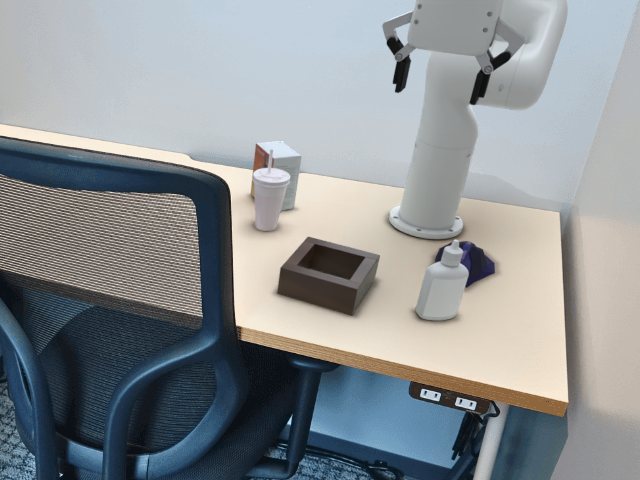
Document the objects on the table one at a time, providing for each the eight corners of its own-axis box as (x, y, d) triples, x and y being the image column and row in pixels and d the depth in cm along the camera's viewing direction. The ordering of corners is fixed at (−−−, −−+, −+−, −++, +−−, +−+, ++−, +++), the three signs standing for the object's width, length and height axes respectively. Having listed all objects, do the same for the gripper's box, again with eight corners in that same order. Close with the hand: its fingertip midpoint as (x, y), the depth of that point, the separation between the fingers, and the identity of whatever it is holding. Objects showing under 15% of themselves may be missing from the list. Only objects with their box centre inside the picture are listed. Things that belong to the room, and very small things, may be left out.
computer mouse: (501, 256, 115) (508, 235, 112) (485, 297, 104) (493, 274, 102) (443, 242, 118) (449, 221, 116) (422, 280, 108) (428, 258, 106)
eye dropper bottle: (454, 326, 98) (478, 252, 91) (413, 317, 99) (433, 243, 93) (456, 311, 101) (479, 237, 94) (416, 302, 103) (436, 230, 96)
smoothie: (260, 214, 126) (268, 140, 118) (290, 225, 123) (301, 149, 115) (240, 227, 122) (247, 150, 114) (271, 238, 119) (281, 160, 111)
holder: (304, 260, 113) (307, 236, 110) (374, 280, 108) (380, 254, 105) (276, 293, 104) (280, 267, 102) (352, 315, 100) (357, 289, 97)
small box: (249, 195, 133) (254, 142, 127) (276, 192, 135) (282, 139, 129) (267, 212, 127) (273, 158, 121) (294, 209, 129) (302, 154, 123)
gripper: (552, -46, 82) (509, 99, 92) (405, -56, 89) (379, 79, 99) (546, -38, 77) (500, 115, 86) (390, -51, 84) (364, 92, 93)
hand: (436, 96), depth 92 cm, fingers open, 9 cm apart
